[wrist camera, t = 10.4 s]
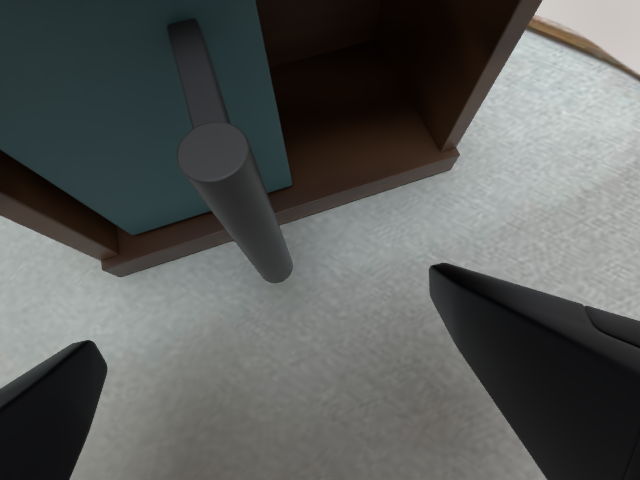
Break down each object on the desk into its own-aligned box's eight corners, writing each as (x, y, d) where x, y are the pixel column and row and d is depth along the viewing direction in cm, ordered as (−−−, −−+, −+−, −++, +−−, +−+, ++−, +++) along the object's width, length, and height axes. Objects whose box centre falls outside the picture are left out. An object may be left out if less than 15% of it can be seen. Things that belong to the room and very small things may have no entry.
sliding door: (327, 278, 16) (323, 104, 5) (148, 340, 15) (-295, 286, 4) (288, 173, 18) (230, -103, 7) (130, 222, 17) (-195, -8, 6)
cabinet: (451, 169, 20) (753, -310, 6) (119, 277, 18) (-655, -39, 4) (379, 46, 23) (455, -426, 9) (99, 124, 22) (-325, -318, 8)
